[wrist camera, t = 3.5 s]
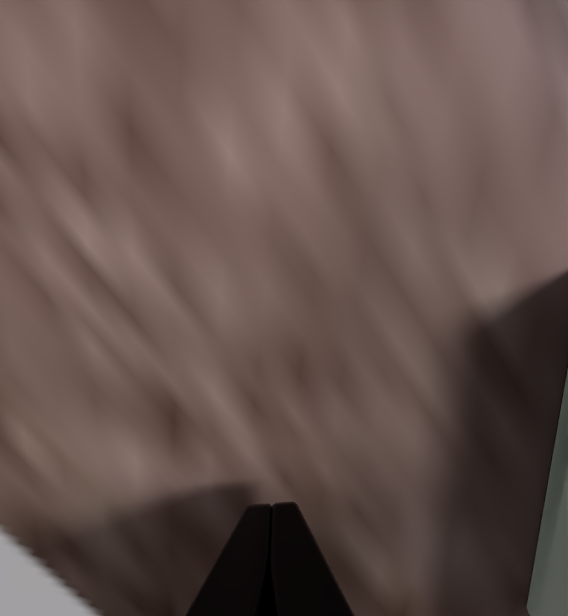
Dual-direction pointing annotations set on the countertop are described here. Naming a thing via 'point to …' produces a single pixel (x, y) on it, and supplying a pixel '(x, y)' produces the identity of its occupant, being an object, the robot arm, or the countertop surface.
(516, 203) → the countertop surface
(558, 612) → the tray
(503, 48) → the countertop surface
